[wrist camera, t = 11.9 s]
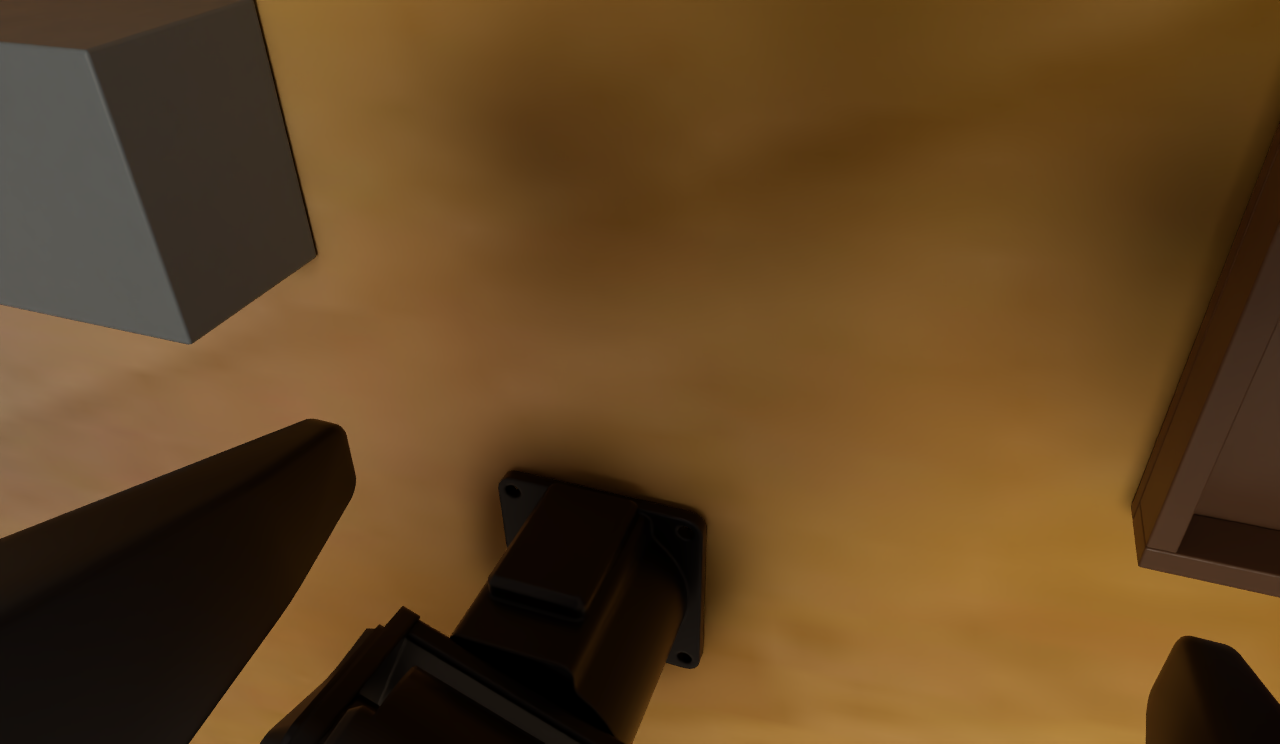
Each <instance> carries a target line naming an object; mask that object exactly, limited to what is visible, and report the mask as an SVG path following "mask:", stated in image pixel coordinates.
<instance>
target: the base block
mask: <svg viewBox="0 0 1280 744" xmlns="http://www.w3.org/2000/svg"><path fill="white" fill-rule="evenodd" d="M315 257H316V251H315V247H314V243H313V239H312V235H311V231H310V227H309V223H308V219H307V215H306V211H305V207H304V203H303V199H302V195H301V191H300V187H299V183H298V178H297V174H296V170H295V166H294V162H293V158H292V154H291V150H290V146H289V142H288V138H287V134H286V130H285V126H284V122H283V118H282V114H281V109H280V105H279V101H278V97H277V93H276V89H275V85H274V81H273V77H272V73H271V69H270V65H269V61H268V57H267V53H266V49H265V45H264V41H263V36H262V32H261V28H260V24H259V20H258V16H257V12H256V8H255V4H254V1H253V0H0V305H5V306H10V307H15V308H19V309H24V310H29V311H33V312H38V313H43V314H47V315H52V316H57V317H62V318H66V319H71V320H76V321H80V322H85V323H90V324H94V325H99V326H104V327H109V328H113V329H118V330H123V331H127V332H132V333H137V334H141V335H146V336H151V337H156V338H160V339H165V340H170V341H174V342H179V343H184V344H192V343H194V342H195V341H197V340H198V339H200V338H201V337H202V336H204V335H205V334H207V333H208V332H210V331H211V330H212V329H214V328H215V327H217V326H218V325H220V324H221V323H222V322H224V321H225V320H227V319H228V318H230V317H231V316H232V315H234V314H235V313H237V312H238V311H240V310H241V309H242V308H244V307H245V306H247V305H248V304H250V303H251V302H252V301H254V300H255V299H257V298H258V297H260V296H261V295H262V294H264V293H265V292H267V291H268V290H270V289H271V288H272V287H274V286H275V285H277V284H278V283H280V282H281V281H282V280H284V279H285V278H287V277H288V276H290V275H291V274H292V273H294V272H295V271H297V270H298V269H300V268H301V267H302V266H304V265H305V264H307V263H308V262H310V261H311V260H312V259H314V258H315Z"/></svg>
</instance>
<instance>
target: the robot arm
mask: <svg viewBox="0 0 1280 744" xmlns="http://www.w3.org/2000/svg"><path fill="white" fill-rule="evenodd" d="M355 485H356V475H355V470H354V466H353V462H352V457H351V453H350V448H349V444H348V439H347V435H346V432H345V431H344V430H343V428H342V427H341V426H339V425H337V424H334V423H330V422H326V421H322V420H318V419H306V420H303V421H301V422H298V423H296V424H293V425H290V426H288V427H285V428H283V429H280V430H278V431H275V432H273V433H270V434H267V435H265V436H262V437H260V438H257V439H255V440H252V441H249V442H247V443H244V444H242V445H239V446H237V447H234V448H232V449H229V450H226V451H224V452H221V453H219V454H216V455H214V456H211V457H209V458H206V459H203V460H201V461H198V462H196V463H193V464H191V465H188V466H186V467H183V468H180V469H178V470H175V471H173V472H170V473H168V474H165V475H162V476H160V477H157V478H155V479H152V480H150V481H147V482H145V483H142V484H139V485H137V486H134V487H132V488H129V489H127V490H124V491H122V492H119V493H116V494H114V495H111V496H109V497H106V498H104V499H101V500H98V501H96V502H93V503H91V504H88V505H86V506H83V507H81V508H78V509H75V510H73V511H70V512H68V513H65V514H63V515H60V516H58V517H55V518H52V519H50V520H47V521H45V522H42V523H40V524H37V525H35V526H32V527H29V528H27V529H24V530H22V531H19V532H17V533H14V534H11V535H9V536H6V537H4V538H1V539H0V744H189V743H190V741H191V740H192V738H193V737H194V736H195V734H196V733H197V732H198V730H199V729H200V727H201V726H202V725H203V723H204V722H205V720H206V719H207V718H208V716H209V715H210V714H211V712H212V711H213V709H214V708H215V707H216V705H217V704H218V702H219V701H220V700H221V698H222V697H223V696H224V694H225V693H226V691H227V690H228V689H229V687H230V686H231V684H232V683H233V682H234V680H235V679H236V678H237V676H238V675H239V673H240V672H241V671H242V669H243V668H244V667H245V665H246V664H247V662H248V661H249V660H250V658H251V657H252V655H253V654H254V653H255V651H256V650H257V649H258V647H259V646H260V644H261V643H262V642H263V640H264V639H265V637H266V636H267V635H268V633H269V632H270V631H271V629H272V628H273V626H274V625H275V624H276V622H277V621H278V619H279V618H280V617H281V615H282V614H283V612H284V611H285V609H286V608H287V606H288V605H289V604H290V602H291V600H292V599H293V597H294V596H295V594H296V592H297V591H298V589H299V588H300V586H301V584H302V583H303V581H304V579H305V577H306V576H307V574H308V572H309V571H310V569H311V567H312V565H313V564H314V562H315V560H316V559H317V557H318V555H319V553H320V552H321V550H322V548H323V546H324V545H325V543H326V541H327V540H328V538H329V536H330V534H331V533H332V531H333V529H334V527H335V526H336V524H337V522H338V521H339V519H340V517H341V515H342V514H343V512H344V510H345V508H346V507H347V505H348V503H349V502H350V500H351V498H352V496H353V493H354V490H355ZM514 486H515V487H517V488H518V489H517V488H515V487H514ZM498 489H499V496H500V503H501V510H502V516H503V523H504V530H505V537H506V544H507V550H506V551H505V553H504V554H503V556H502V557H501V559H500V560H499V562H498V563H497V565H496V566H495V568H494V569H493V571H492V572H491V574H490V575H489V577H488V581H487V582H486V584H485V585H484V587H483V588H482V590H481V591H480V593H479V594H478V596H477V597H476V599H475V600H474V602H473V603H472V605H471V606H470V608H469V609H468V611H467V612H466V614H465V615H464V617H463V618H462V620H461V621H460V623H459V624H458V626H457V627H456V629H455V630H454V632H453V633H452V635H451V636H450V638H449V637H447V636H445V635H444V634H442V633H440V632H439V631H437V630H435V629H434V628H432V627H430V626H429V625H427V624H425V623H424V622H422V621H420V620H419V619H420V616H419V615H417V614H416V613H414V612H412V611H411V610H409V609H407V608H406V607H404V606H402V607H401V608H400V609H399V611H398V612H397V613H396V614H395V615H394V616H393V618H392V619H391V620H390V621H389V622H388V623H387V624H386V626H385V627H383V626H382V625H380V624H379V625H378V626H377V627H376V628H375V629H366V630H365V631H364V633H363V634H362V635H361V636H360V638H359V639H358V640H357V642H356V643H355V644H354V646H353V647H352V648H351V650H350V651H349V652H348V653H347V655H346V656H345V657H344V659H343V660H342V661H341V662H340V664H339V665H338V666H337V667H336V669H335V670H334V671H333V672H332V673H331V674H330V676H329V677H328V678H327V679H326V680H325V681H324V682H323V683H322V684H321V685H320V686H318V687H317V688H316V689H315V690H314V691H313V692H312V693H311V694H310V695H309V696H307V697H306V698H305V699H304V700H303V701H302V702H301V703H300V704H299V705H297V706H296V707H295V708H294V709H293V710H292V711H291V712H290V713H289V714H287V715H286V716H285V717H284V718H283V719H282V720H281V721H280V722H279V723H277V724H276V725H275V726H274V727H273V728H272V729H271V730H270V731H269V732H268V733H267V734H266V736H265V737H264V738H263V740H262V741H261V743H260V744H632V743H633V740H634V738H635V735H636V733H637V731H638V728H639V726H640V723H641V721H642V718H643V716H644V714H645V711H646V709H647V706H648V704H649V701H650V699H651V696H652V694H653V692H654V689H655V687H656V684H657V682H658V679H659V677H660V675H661V672H662V670H663V667H664V665H665V663H669V664H672V665H676V666H679V667H683V668H688V669H692V668H695V667H697V666H698V665H699V662H700V659H701V657H702V654H703V633H704V599H705V565H706V531H707V527H706V523H705V521H704V520H703V519H702V517H700V516H699V515H698V514H696V513H694V512H691V511H687V510H683V509H679V508H674V507H670V506H666V505H662V504H657V503H653V502H649V501H644V500H640V499H636V498H632V497H627V496H623V495H619V494H614V493H610V492H606V491H602V490H597V489H593V488H589V487H584V486H580V485H576V484H572V483H567V482H563V481H559V480H554V479H550V478H546V477H542V476H537V475H533V474H529V473H524V472H520V471H509V472H507V473H506V475H505V476H504V477H503V479H502V480H501V481H500V483H499V487H498ZM685 527H688V528H690V529H691V530H692V531H690V530H688V529H686V528H685ZM1146 744H1280V704H1279V703H1278V702H1277V700H1276V699H1275V698H1274V697H1273V695H1272V694H1271V693H1270V692H1269V690H1268V689H1267V688H1266V687H1265V685H1264V684H1263V683H1262V682H1261V680H1260V679H1259V678H1258V677H1257V675H1256V674H1255V673H1254V671H1253V670H1252V669H1251V668H1250V666H1249V665H1248V664H1247V663H1246V661H1245V660H1244V659H1243V658H1242V656H1241V655H1240V654H1239V653H1238V652H1237V651H1236V650H1235V649H1233V648H1232V647H1230V646H1228V645H1225V644H1221V643H1217V642H1213V641H1209V640H1205V639H1201V638H1197V637H1193V636H1183V637H1181V638H1180V639H1179V640H1178V641H1177V642H1176V643H1175V644H1174V646H1173V648H1172V650H1171V652H1170V654H1169V656H1168V658H1167V660H1166V662H1165V664H1164V666H1163V668H1162V670H1161V671H1160V673H1159V675H1158V677H1157V679H1156V681H1155V683H1154V685H1153V687H1152V689H1151V692H1150V695H1149V699H1148V703H1147V711H1146Z"/></svg>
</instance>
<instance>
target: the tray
mask: <svg viewBox="0 0 1280 744" xmlns="http://www.w3.org/2000/svg"><path fill="white" fill-rule="evenodd" d="M1131 510H1132V518H1133V527H1134V535H1135V544H1136V552H1137V560H1138V566H1140V567H1143V568H1147V569H1152V570H1156V571H1161V572H1165V573H1170V574H1175V575H1179V576H1184V577H1188V578H1193V579H1197V580H1202V581H1207V582H1211V583H1216V584H1220V585H1225V586H1229V587H1234V588H1239V589H1243V590H1248V591H1252V592H1257V593H1261V594H1266V595H1271V596H1275V597H1280V123H1279V125H1278V128H1277V131H1276V133H1275V136H1274V138H1273V141H1272V144H1271V146H1270V149H1269V151H1268V154H1267V156H1266V159H1265V162H1264V164H1263V167H1262V169H1261V172H1260V175H1259V177H1258V180H1257V182H1256V185H1255V188H1254V190H1253V193H1252V195H1251V198H1250V201H1249V203H1248V206H1247V208H1246V211H1245V213H1244V216H1243V219H1242V221H1241V224H1240V226H1239V229H1238V232H1237V234H1236V237H1235V239H1234V242H1233V245H1232V247H1231V250H1230V252H1229V255H1228V258H1227V260H1226V263H1225V265H1224V268H1223V270H1222V273H1221V276H1220V278H1219V281H1218V283H1217V286H1216V289H1215V291H1214V294H1213V296H1212V299H1211V302H1210V304H1209V307H1208V309H1207V312H1206V315H1205V317H1204V320H1203V322H1202V325H1201V327H1200V330H1199V333H1198V335H1197V338H1196V340H1195V343H1194V346H1193V348H1192V351H1191V353H1190V356H1189V359H1188V361H1187V364H1186V366H1185V369H1184V372H1183V374H1182V377H1181V379H1180V382H1179V384H1178V387H1177V390H1176V392H1175V395H1174V397H1173V400H1172V403H1171V405H1170V408H1169V410H1168V413H1167V416H1166V418H1165V421H1164V423H1163V426H1162V428H1161V431H1160V434H1159V436H1158V439H1157V441H1156V444H1155V447H1154V449H1153V452H1152V454H1151V457H1150V460H1149V462H1148V465H1147V467H1146V470H1145V473H1144V475H1143V478H1142V480H1141V483H1140V485H1139V488H1138V491H1137V493H1136V496H1135V498H1134V501H1133V504H1132V506H1131Z"/></svg>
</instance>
